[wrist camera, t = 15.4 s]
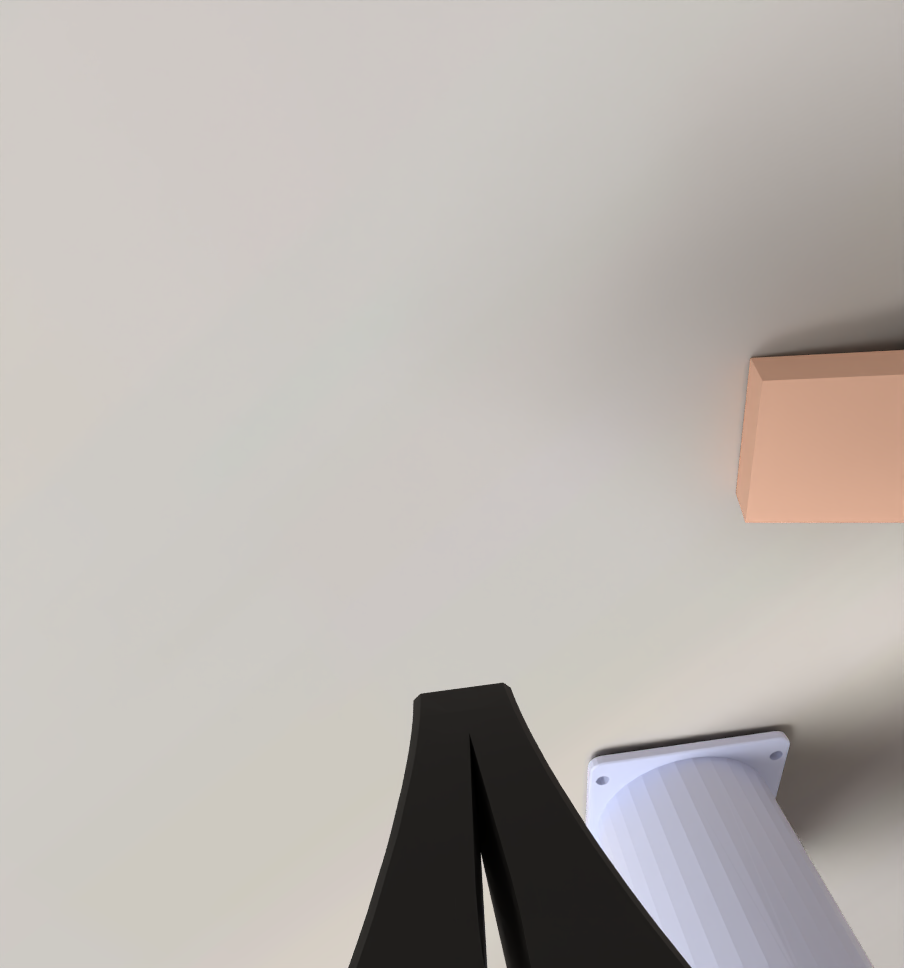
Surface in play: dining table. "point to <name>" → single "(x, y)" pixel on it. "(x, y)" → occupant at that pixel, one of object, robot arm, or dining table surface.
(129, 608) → the dining table surface
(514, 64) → the dining table surface
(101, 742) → the dining table surface
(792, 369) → the domino
